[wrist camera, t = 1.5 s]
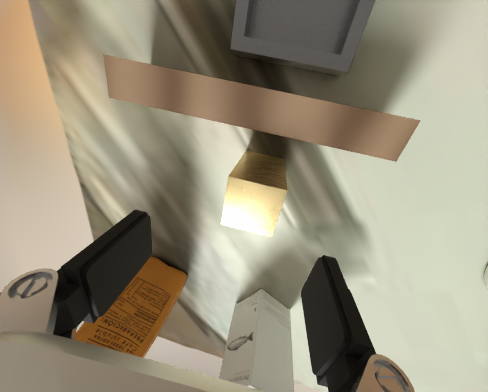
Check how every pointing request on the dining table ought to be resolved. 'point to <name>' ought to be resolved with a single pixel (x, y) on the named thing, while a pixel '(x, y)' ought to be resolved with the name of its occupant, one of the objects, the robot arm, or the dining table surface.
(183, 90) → the brown plank
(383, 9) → the dining table surface
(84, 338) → the coffee package
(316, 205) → the dining table surface
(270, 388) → the supplement box
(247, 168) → the block
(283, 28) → the grey square tray
